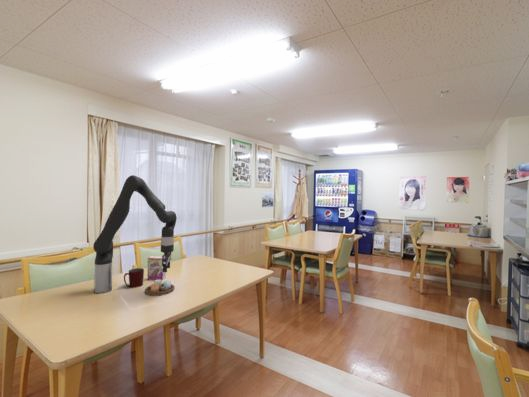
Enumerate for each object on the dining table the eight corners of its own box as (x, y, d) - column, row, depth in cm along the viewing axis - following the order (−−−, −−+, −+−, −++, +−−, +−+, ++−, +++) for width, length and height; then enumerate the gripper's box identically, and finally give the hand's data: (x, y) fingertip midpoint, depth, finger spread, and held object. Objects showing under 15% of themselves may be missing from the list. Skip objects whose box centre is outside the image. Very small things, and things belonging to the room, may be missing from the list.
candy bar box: (147, 281, 183) (147, 257, 183) (150, 278, 188) (151, 255, 187) (162, 282, 182) (162, 258, 181) (166, 279, 187) (166, 256, 186)
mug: (127, 292, 163) (127, 274, 162) (120, 288, 168) (121, 271, 168) (146, 286, 172) (146, 270, 172) (139, 283, 178) (139, 267, 177)
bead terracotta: (155, 294, 156) (155, 286, 156) (149, 293, 158) (149, 285, 158) (160, 292, 160) (160, 283, 160) (154, 291, 162) (154, 282, 162)
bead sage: (155, 290, 163) (155, 282, 163) (153, 288, 167) (153, 280, 166) (162, 288, 166) (162, 280, 166) (160, 286, 169) (160, 278, 169)
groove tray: (149, 299, 152) (149, 295, 151) (142, 291, 164) (142, 286, 164) (178, 293, 162) (178, 288, 162) (168, 285, 175) (168, 281, 174)
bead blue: (162, 291, 161) (162, 283, 161) (164, 289, 165) (164, 281, 165) (170, 291, 162) (170, 283, 162) (171, 288, 166) (171, 280, 166)
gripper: (163, 241, 169) (162, 266, 169) (157, 246, 155) (157, 273, 155) (175, 241, 170) (175, 266, 170) (171, 246, 156) (170, 273, 156)
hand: (166, 270), depth 163 cm, fingers open, 8 cm apart
